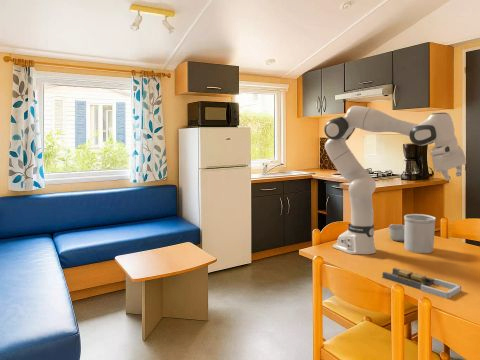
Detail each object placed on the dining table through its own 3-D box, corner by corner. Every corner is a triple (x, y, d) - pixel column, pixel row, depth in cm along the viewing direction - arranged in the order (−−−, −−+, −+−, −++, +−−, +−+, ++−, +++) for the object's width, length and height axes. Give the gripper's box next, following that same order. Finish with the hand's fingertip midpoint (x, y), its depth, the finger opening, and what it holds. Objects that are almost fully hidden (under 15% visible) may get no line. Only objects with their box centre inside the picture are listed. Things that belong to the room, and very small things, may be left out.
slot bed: (381, 279, 162) (381, 272, 162) (395, 274, 168) (395, 267, 168) (421, 292, 149) (421, 284, 148) (434, 285, 155) (434, 278, 154)
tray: (420, 292, 148) (420, 285, 148) (434, 285, 155) (435, 278, 155) (447, 301, 140) (447, 293, 140) (461, 293, 147) (461, 285, 147)
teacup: (412, 242, 216) (412, 228, 215) (392, 242, 216) (392, 228, 215) (402, 236, 230) (402, 222, 229) (383, 236, 230) (383, 223, 229)
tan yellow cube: (397, 279, 159) (398, 271, 159) (403, 277, 162) (403, 269, 161) (407, 282, 156) (407, 274, 156) (412, 280, 159) (412, 271, 158)
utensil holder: (435, 255, 193) (437, 220, 191) (403, 252, 199) (404, 218, 197) (433, 247, 207) (434, 214, 205) (402, 244, 212) (403, 213, 210)
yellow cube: (410, 283, 155) (410, 275, 155) (415, 281, 158) (416, 272, 157) (420, 286, 152) (420, 277, 152) (425, 283, 154) (425, 275, 154)
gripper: (452, 145, 180) (459, 174, 180) (427, 152, 169) (434, 183, 169) (466, 143, 175) (472, 172, 175) (441, 149, 164) (448, 181, 164)
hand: (453, 178), depth 172 cm, fingers open, 8 cm apart
